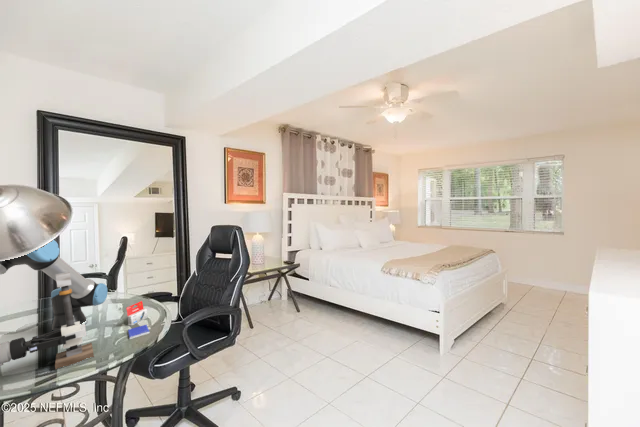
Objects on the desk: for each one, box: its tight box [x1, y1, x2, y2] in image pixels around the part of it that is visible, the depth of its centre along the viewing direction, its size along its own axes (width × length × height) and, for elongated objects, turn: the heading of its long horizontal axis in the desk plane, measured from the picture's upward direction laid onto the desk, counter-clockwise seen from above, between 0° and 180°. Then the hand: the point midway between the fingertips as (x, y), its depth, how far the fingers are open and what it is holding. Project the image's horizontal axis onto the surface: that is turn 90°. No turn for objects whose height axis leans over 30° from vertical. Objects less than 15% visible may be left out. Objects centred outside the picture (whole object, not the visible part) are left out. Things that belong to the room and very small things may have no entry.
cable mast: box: [54, 272, 95, 370], centre depth 125 cm, size 14×12×36 cm
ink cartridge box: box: [125, 300, 149, 326], centre depth 162 cm, size 2×11×10 cm, turn 168°
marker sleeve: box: [61, 321, 83, 350], centre depth 125 cm, size 6×6×8 cm
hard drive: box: [127, 324, 150, 340], centre depth 146 cm, size 2×8×12 cm
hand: (85, 329), depth 128 cm, fingers open, 9 cm apart
